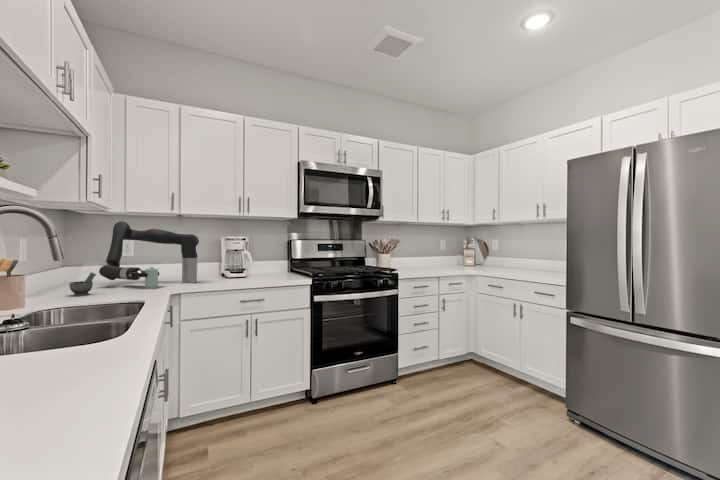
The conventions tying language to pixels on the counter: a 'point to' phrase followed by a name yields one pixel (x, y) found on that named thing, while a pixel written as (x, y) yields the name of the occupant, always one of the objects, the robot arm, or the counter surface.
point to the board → (153, 288)
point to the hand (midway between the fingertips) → (152, 274)
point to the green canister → (151, 278)
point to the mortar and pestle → (82, 286)
